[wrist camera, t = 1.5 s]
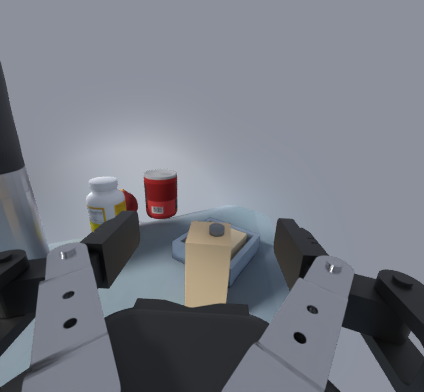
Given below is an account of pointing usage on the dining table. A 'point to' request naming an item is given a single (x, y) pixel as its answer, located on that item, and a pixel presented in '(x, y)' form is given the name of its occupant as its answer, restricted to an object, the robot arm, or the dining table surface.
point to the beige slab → (237, 242)
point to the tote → (236, 263)
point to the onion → (130, 201)
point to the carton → (207, 263)
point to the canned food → (160, 193)
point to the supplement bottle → (104, 200)
